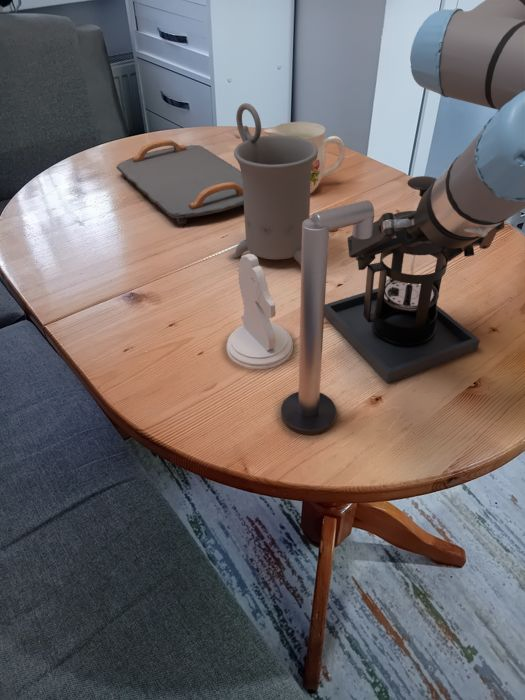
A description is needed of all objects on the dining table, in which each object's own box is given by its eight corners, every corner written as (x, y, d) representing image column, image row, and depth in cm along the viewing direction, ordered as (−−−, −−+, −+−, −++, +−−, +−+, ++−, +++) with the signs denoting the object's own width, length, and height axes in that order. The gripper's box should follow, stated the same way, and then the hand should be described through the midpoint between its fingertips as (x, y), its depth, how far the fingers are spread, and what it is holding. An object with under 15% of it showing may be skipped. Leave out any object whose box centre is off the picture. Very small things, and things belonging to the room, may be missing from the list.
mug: (338, 258, 98) (348, 115, 82) (275, 287, 91) (273, 138, 75) (273, 222, 110) (271, 90, 93) (213, 245, 103) (200, 108, 87)
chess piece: (248, 379, 74) (242, 289, 65) (215, 341, 81) (205, 254, 71) (306, 353, 78) (308, 264, 68) (270, 319, 85) (267, 234, 75)
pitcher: (349, 194, 118) (355, 130, 110) (270, 203, 116) (268, 139, 107) (334, 175, 127) (338, 114, 118) (260, 183, 124) (258, 122, 115)
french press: (421, 304, 86) (445, 161, 71) (451, 339, 79) (485, 188, 64) (351, 317, 84) (362, 173, 69) (376, 355, 77) (393, 203, 62)
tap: (337, 382, 74) (354, 186, 55) (366, 416, 69) (395, 214, 50) (272, 406, 70) (267, 207, 52) (296, 443, 66) (300, 238, 47)
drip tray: (403, 289, 90) (405, 279, 89) (477, 350, 78) (480, 340, 76) (322, 315, 85) (322, 304, 84) (386, 384, 73) (388, 373, 72)
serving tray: (276, 205, 115) (276, 177, 111) (179, 235, 106) (174, 206, 102) (196, 151, 141) (193, 127, 137) (111, 172, 132) (106, 147, 128)
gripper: (355, 246, 53) (321, 289, 75) (581, 232, 55) (483, 278, 77) (348, 173, 54) (316, 237, 76) (572, 160, 55) (477, 227, 77)
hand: (400, 258), depth 76 cm, fingers closed on french press, 11 cm apart
